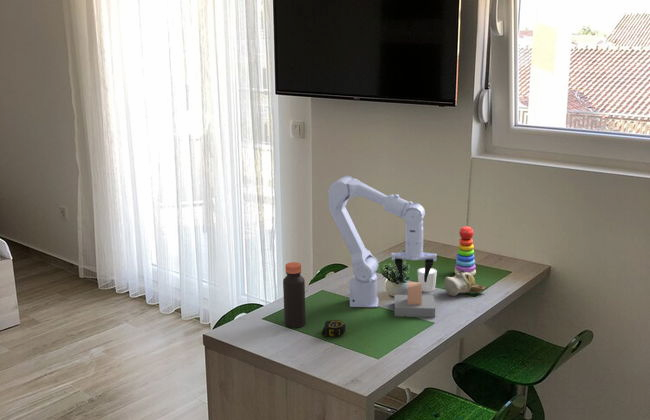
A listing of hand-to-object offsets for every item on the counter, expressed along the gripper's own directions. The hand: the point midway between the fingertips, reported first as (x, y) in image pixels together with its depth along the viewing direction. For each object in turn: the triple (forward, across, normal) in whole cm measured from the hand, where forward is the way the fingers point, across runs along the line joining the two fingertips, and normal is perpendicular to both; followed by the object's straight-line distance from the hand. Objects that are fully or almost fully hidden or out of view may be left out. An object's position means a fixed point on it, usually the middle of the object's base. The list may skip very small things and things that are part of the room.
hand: (413, 280), depth 228 cm
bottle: (+10, -38, -14) cm, 41 cm away
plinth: (+10, 0, -1) cm, 10 cm away
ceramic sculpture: (+10, +17, +15) cm, 25 cm away
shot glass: (+10, +5, +18) cm, 21 cm away
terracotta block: (+7, 0, -1) cm, 7 cm away
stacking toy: (+10, +20, +34) cm, 41 cm away
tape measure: (+10, -25, -21) cm, 34 cm away
